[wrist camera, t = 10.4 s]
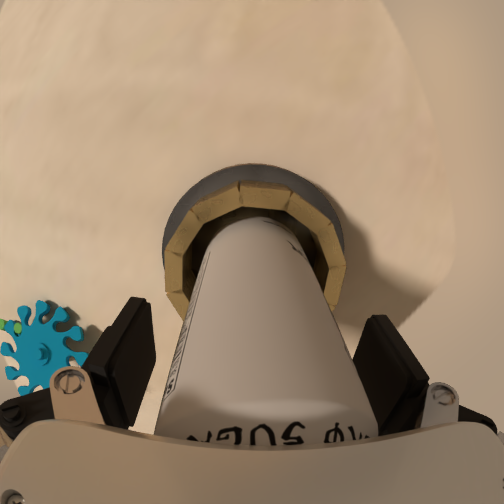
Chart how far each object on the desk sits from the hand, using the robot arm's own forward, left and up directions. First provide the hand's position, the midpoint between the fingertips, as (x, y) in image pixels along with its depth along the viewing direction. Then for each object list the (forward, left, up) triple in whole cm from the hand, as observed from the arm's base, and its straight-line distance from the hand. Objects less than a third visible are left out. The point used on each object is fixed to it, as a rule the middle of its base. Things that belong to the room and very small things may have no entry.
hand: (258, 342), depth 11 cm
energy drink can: (0, 0, -8) cm, 8 cm away
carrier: (0, 0, -10) cm, 10 cm away
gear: (+10, -18, -10) cm, 23 cm away
